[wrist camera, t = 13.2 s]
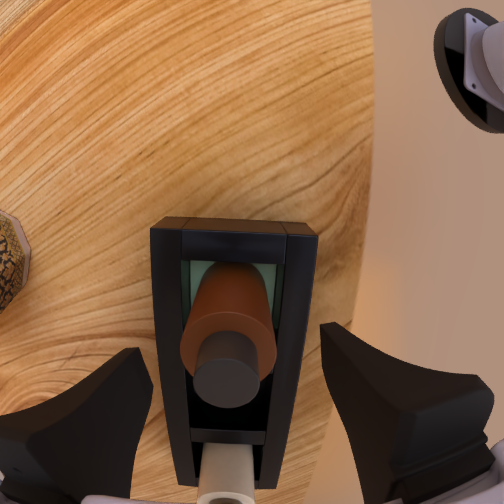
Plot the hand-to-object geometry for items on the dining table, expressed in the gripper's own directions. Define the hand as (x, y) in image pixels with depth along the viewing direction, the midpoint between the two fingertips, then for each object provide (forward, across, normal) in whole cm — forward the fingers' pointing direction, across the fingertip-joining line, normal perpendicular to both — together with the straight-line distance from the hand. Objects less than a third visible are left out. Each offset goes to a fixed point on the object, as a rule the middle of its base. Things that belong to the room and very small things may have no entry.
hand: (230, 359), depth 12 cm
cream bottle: (+8, +3, +14) cm, 16 cm away
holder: (+8, +2, +7) cm, 11 cm away
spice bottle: (+8, 0, 0) cm, 8 cm away
